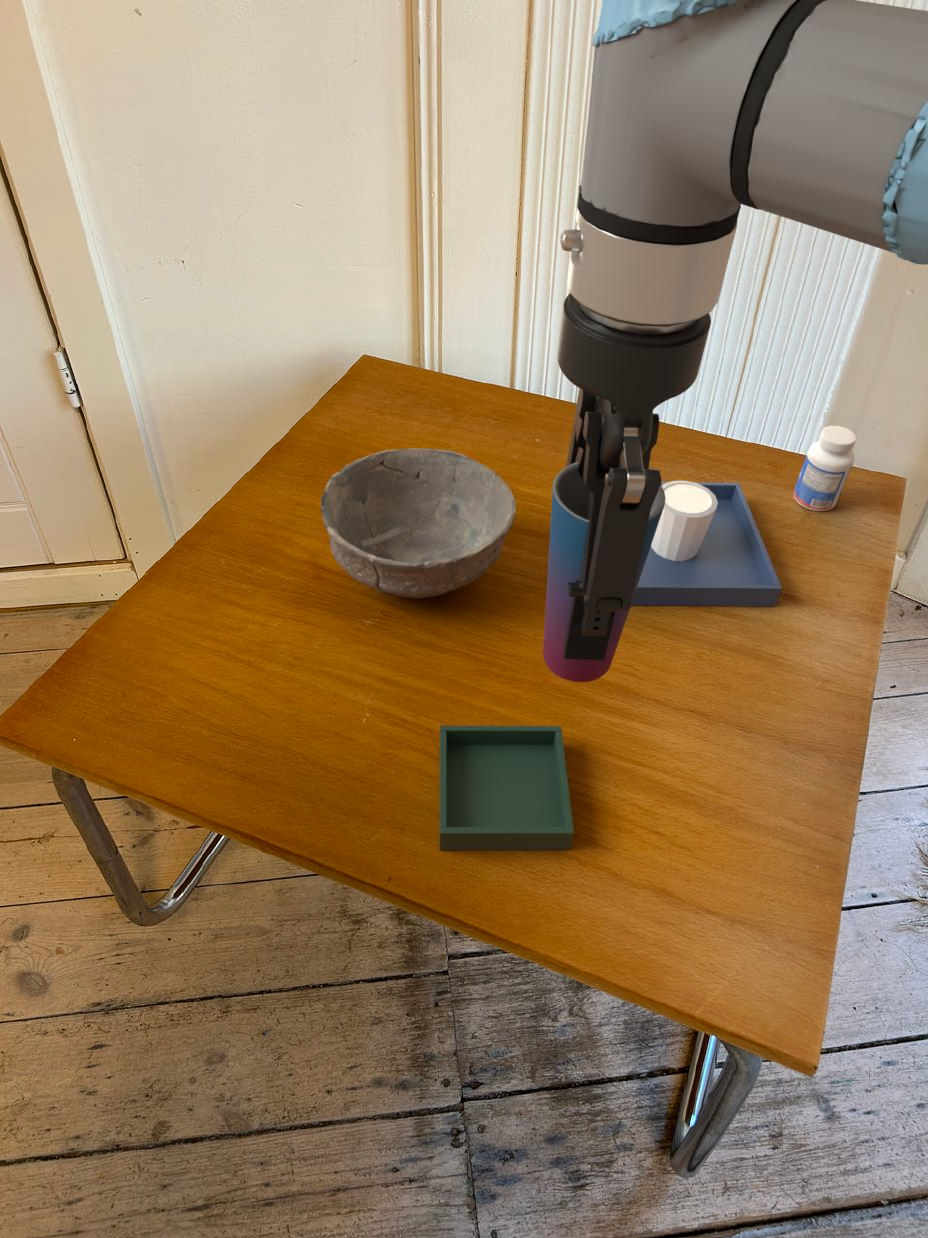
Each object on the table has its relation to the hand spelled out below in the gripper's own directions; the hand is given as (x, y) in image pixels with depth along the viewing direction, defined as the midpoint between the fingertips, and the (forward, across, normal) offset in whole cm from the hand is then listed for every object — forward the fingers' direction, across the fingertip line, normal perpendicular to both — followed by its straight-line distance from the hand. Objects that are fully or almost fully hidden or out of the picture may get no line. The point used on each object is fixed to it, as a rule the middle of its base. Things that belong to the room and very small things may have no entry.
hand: (578, 619), depth 60 cm
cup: (+4, 0, 0) cm, 4 cm away
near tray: (+23, -1, -4) cm, 24 cm away
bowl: (+24, -31, -12) cm, 41 cm away
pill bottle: (+24, -45, +38) cm, 64 cm away
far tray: (+24, -35, +18) cm, 46 cm away
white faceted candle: (+23, -35, +18) cm, 46 cm away
